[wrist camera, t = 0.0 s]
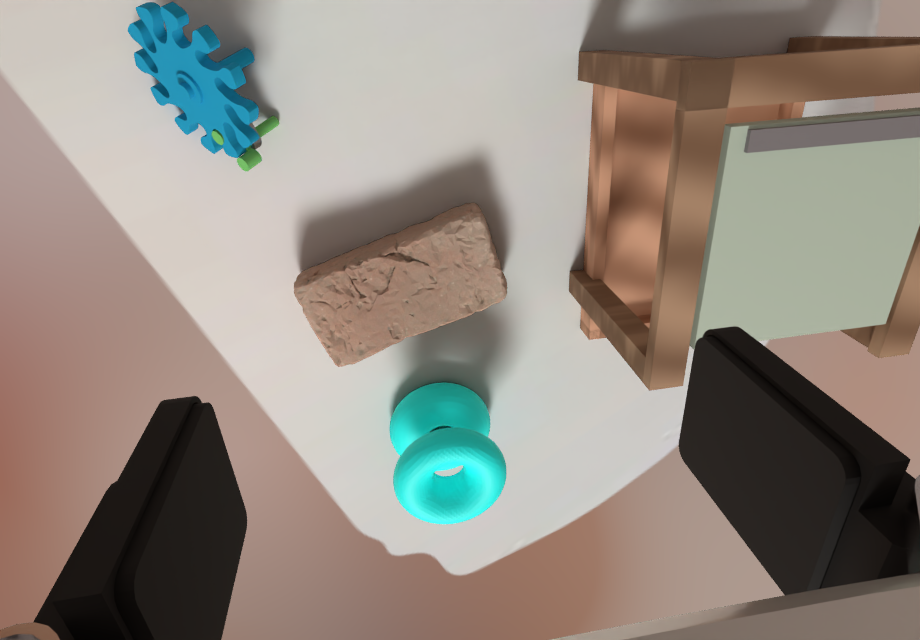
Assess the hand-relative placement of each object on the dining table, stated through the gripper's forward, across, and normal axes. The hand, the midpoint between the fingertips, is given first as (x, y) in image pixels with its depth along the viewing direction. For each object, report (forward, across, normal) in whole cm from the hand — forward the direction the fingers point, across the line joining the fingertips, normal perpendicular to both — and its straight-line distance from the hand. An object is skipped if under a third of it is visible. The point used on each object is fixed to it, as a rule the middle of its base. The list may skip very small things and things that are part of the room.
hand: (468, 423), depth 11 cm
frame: (+37, -25, +7) cm, 45 cm away
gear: (+37, +12, -4) cm, 39 cm away
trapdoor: (+21, -25, +6) cm, 33 cm away
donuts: (+37, -2, +28) cm, 47 cm away
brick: (+37, 0, +12) cm, 39 cm away
